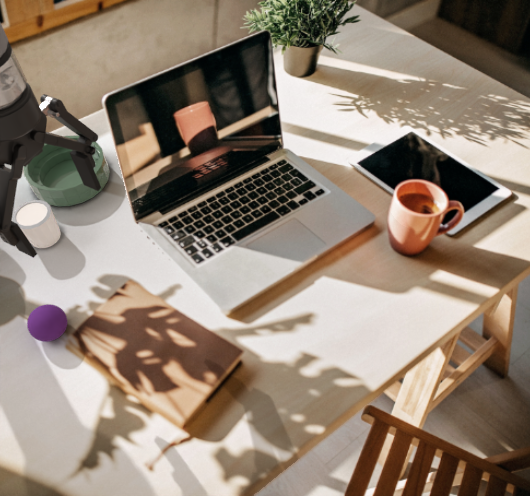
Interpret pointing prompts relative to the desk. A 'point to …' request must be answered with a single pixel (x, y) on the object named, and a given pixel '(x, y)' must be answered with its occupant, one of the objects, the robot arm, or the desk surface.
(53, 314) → the ball
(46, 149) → the bowl
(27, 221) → the white cylinder
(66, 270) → the desk surface
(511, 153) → the desk surface
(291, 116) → the desk surface
